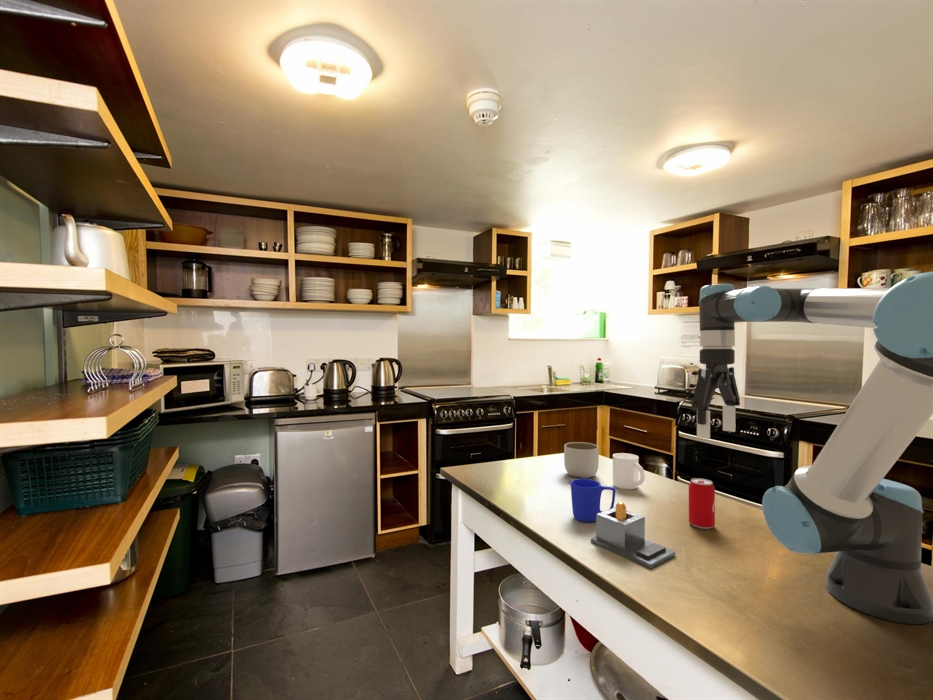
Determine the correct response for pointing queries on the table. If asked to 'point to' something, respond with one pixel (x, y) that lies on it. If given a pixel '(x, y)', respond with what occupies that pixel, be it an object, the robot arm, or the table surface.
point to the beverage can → (701, 503)
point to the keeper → (638, 547)
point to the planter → (581, 459)
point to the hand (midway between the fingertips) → (716, 434)
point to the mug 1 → (587, 498)
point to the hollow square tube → (620, 529)
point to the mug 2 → (627, 471)
